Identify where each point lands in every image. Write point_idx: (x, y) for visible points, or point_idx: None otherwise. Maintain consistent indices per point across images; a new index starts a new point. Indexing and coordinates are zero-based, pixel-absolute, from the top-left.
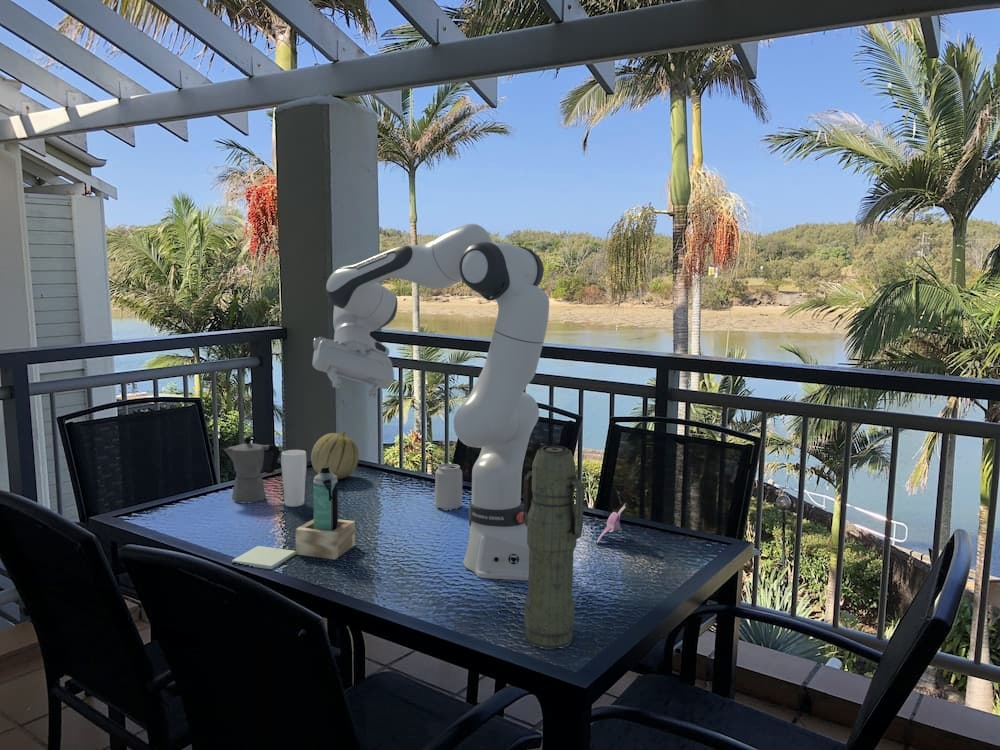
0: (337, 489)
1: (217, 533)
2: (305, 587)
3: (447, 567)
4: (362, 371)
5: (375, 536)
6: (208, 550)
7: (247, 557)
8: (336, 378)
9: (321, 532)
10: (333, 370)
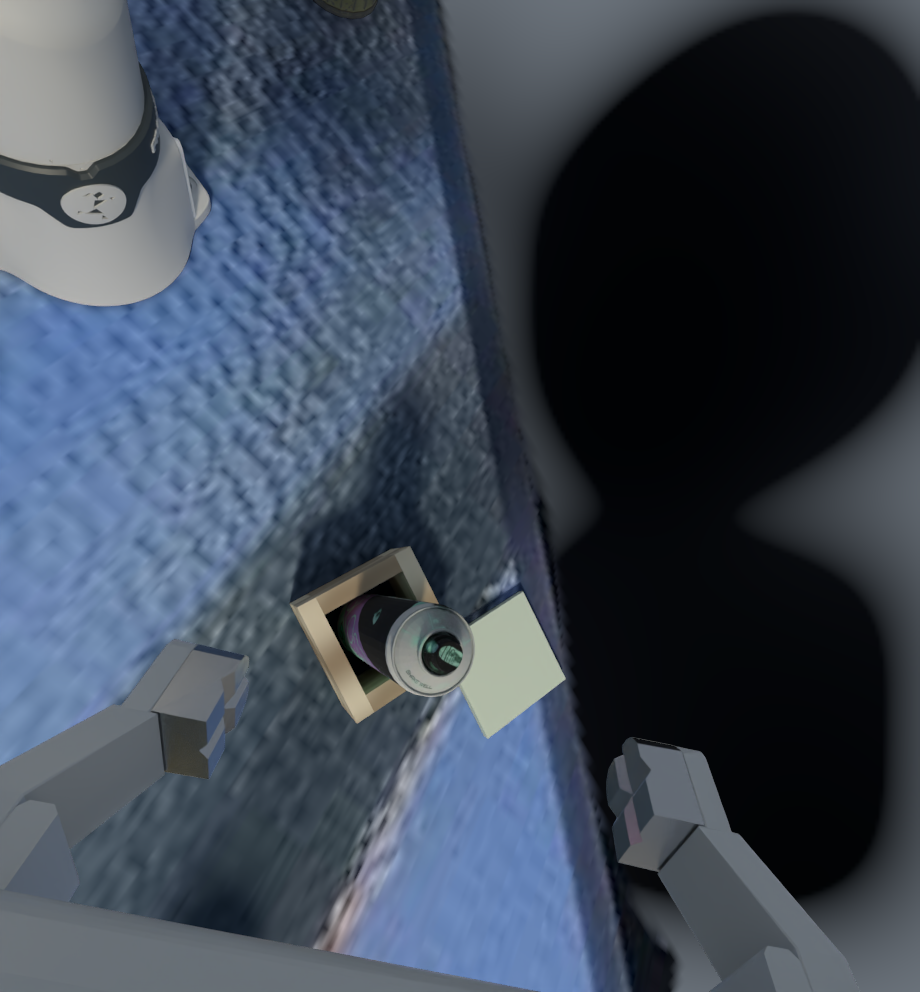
0: (386, 619)
1: (504, 925)
2: (514, 460)
3: (216, 309)
4: (305, 989)
5: (188, 633)
6: (565, 797)
7: (537, 674)
8: (716, 811)
9: (427, 582)
10: (813, 958)
